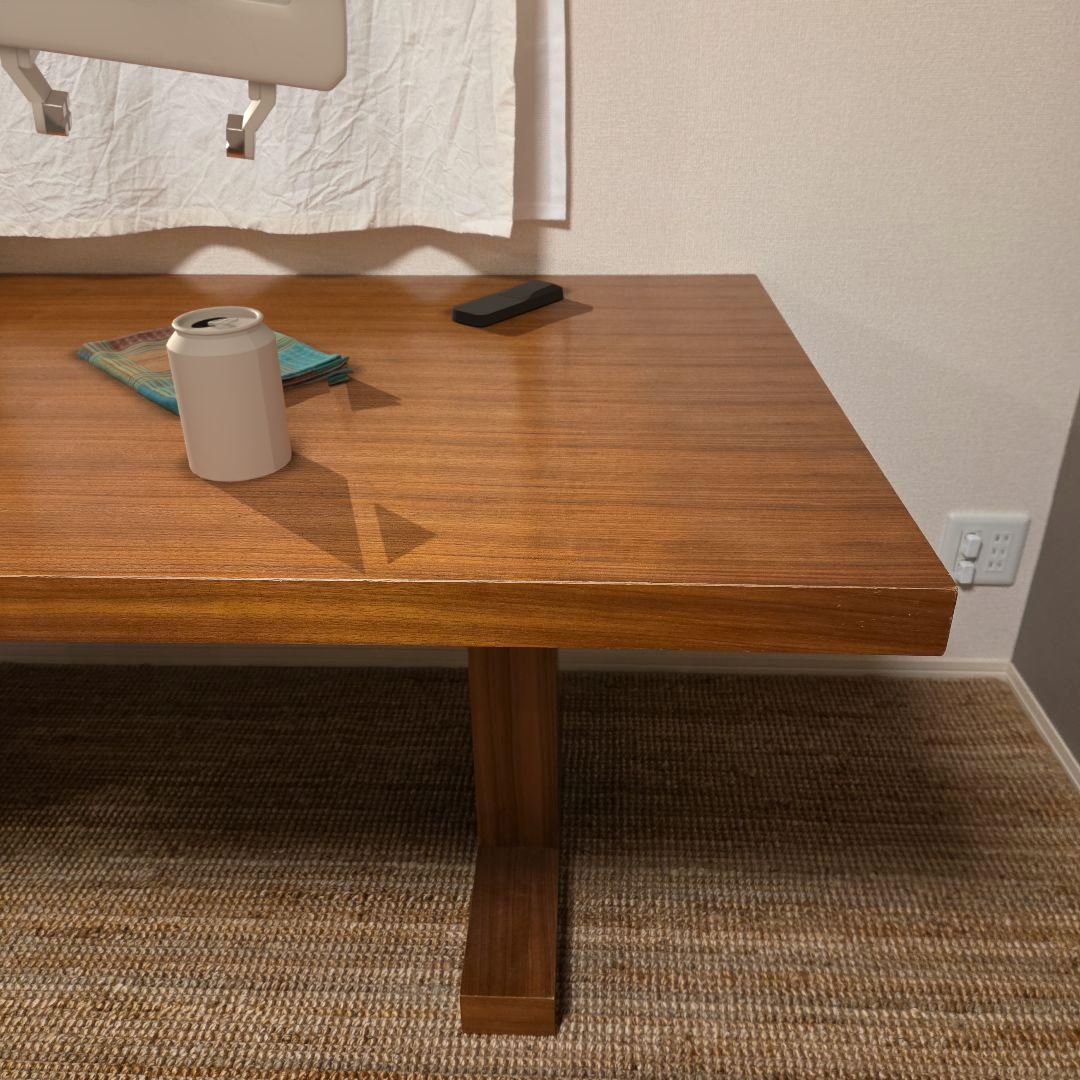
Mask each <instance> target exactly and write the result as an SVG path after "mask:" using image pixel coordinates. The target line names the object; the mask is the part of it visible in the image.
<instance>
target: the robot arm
mask: <svg viewBox="0 0 1080 1080" xmlns="http://www.w3.org/2000/svg"><path fill="white" fill-rule="evenodd" d="M347 10H348V9H347V0H0V64H1V67H2V69H4V71H5V72H6V74H7V75H8V76H9V78H10V79H11V80H12V82H13V83H14V85H15V86H16V87H17V88H18V89H19V91H20V92H21V93H22V94H23V96H24V97H25V99H26V100H27V101H28V102H30V103H31V107H32V114H33V120H34V125H35V127H34V128H35V131H36V133H37V134H41V135H48V136H49V135H50V136H59V137H69V136H70V131H71V130H72V127H73V117H72V116H73V115H72V112H71V111H70V110H69V109H70V106H71V100H70V93H69V91H62V90H57V89H53V88H52V87H51V85H50V84H49V82H48V81H47V79H46V78H45V76H44V74H43V73H42V72H41V70H40V69H39V67H38V65H37V64H36V62H35V61H36V59H37V58H38V57H39V54H40V52H46V53H53V54H61V55H68V56H75V57H82V58H88V59H95V60H102V61H108V62H109V61H110V62H116V63H123V64H130V65H138V66H145V67H151V68H156V69H157V68H159V69H166V70H172V71H179V72H186V73H192V74H200V75H205V76H206V75H208V76H214V77H221V78H227V79H235V80H243V81H247V82H248V83H247V84H248V88H247V89H248V92H247V93H248V96H247V97H248V99H249V100H250V101H251V103H250V104H249V106H248V107H247V108H246V110H245V112H244V113H243V115H242V114H235V113H228V114H227V121H226V125H225V140H226V148H225V150H226V158H234V159H241V160H248V161H255V159H256V150H257V147H256V146H257V132H258V131H259V129H260V128H261V126H263V125H262V124H263V123H264V122H265V120H266V119H267V118H268V116H269V115H270V113H271V112H272V110H273V109H274V108H275V106H276V104H277V94H278V86H282V87H283V86H284V87H290V88H299V89H305V90H312V91H318V92H331V91H333V90H334V89H335V88H336V87H337V86H338V85H339V84H340V83H341V82H342V81H343V80H344V79H345V78H346V76H347V73H348V48H349V47H348V46H349V45H348V43H349V41H348V40H349V39H348V36H349V35H348V11H347Z"/></svg>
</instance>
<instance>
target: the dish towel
mask: <svg viewBox="0 0 1080 1080" xmlns="http://www.w3.org/2000/svg"><path fill="white" fill-rule="evenodd" d="M271 330H272V331H273V332H274V333H275V336H276V343H277V350H278V357H279V365H280V372H281V379H282V386H283V391H284V390H289V389H291V388H295V387H298V386H303V385H307V384H311V383H315V382H319V381H323V380H327V384H328V386H332V385H334V384H338V383H342V382H347V381H349V380H350V379H351V377H350V376H349V375H348V374H353V373H355V371H354V369H353V368H350V367H349V363H348V362H349V360H350V356H349V355H345V356H342V354H339V353H334V354H329V353H326V352H324V351H320V350H319V349H317V348H315V347H313V346H312V345H309V344H307V343H305V342H303V341H301V340H299V339H297V338H293V337H291V336H288V335H286V334H283V333H281V332H278V331H276V330H273V329H271ZM174 332H175V329H174V328H173V326H172V324H170V325H167V326H163V327H159V328H153V329H148V330H142V331H141V330H140V331H137V332H136V331H135V332H134V333H133V332H132V333H128V334H125V335H122V336H117V337H113V338H107V339H105V340H98V341H89V342H85V343H83V344H82V345H81V347H80V348H79V350H78V351H77V357H78V359H80V360H84V361H86V362H87V363H89V364H91V365H92V366H94V367H96V368H97V369H99V370H101V371H103V372H104V373H107V374H108V375H109V376H110V377H112V378H113V379H116V380H117V381H119V382H121V383H122V384H124V385H125V386H127V387H128V388H130V389H131V390H132V391H134V392H136V393H138V394H139V395H140V396H142V397H144V398H145V399H147V400H149V401H151V402H153V403H154V404H156V405H158V406H160V407H162V408H163V409H166V410H169V411H171V412H173V413H174V414H176V415H177V416H178V417H180V414H179V409H178V404H177V399H176V393H175V388H174V383H173V378H172V373H171V368H170V363H169V357H168V352H167V347H166V344H167V342H168V340H169V339H170V337H171V336H172V335H173V333H174Z"/></svg>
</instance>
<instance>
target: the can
mask: <svg viewBox="0 0 1080 1080" xmlns="http://www.w3.org/2000/svg"><path fill="white" fill-rule="evenodd" d="M264 317H265V316H264V314H263V313H262V312H261V311H260V310H258V309H255V308H252V307H247V306H238V305H237V306H235V305H233V306H232V305H230V306H229V305H227V306H226V305H225V306H224V305H223V306H212V307H206V308H205V307H204V308H199V309H196V310H191V311H187V312H185V313H182V314H180V315H178V316H176V317H175V318H174V319H173V321H172V322H171V325H172V326H173V328H174V329H175V332H174V333H173V335H172V336H171V337H170V339H169V340H168V342H167V344H166V347H167V352H168V357H169V363H170V368H171V373H172V378H173V383H174V388H175V393H176V399H177V404H178V409H179V414H180V416H179V419H180V423H181V429H182V434H183V435H182V436H183V440H184V444H185V445H184V446H185V449H186V455H187V460H188V465H189V468H190V470H191V473H192V474H193V475H196V476H197V477H199V478H201V479H205V480H208V481H212V482H224V483H232V482H233V483H234V482H245V481H251V480H256V479H261V478H264V477H266V476H269V475H271V474H274V473H277V472H278V471H280V470H281V469H283V468H285V467H286V466H287V465H288V464H289V463H290V461H291V460H292V456H293V452H292V445H291V436H290V431H289V430H290V429H289V424H288V423H289V422H288V416H287V409H286V401H285V394H284V390H283V386H282V379H281V372H280V365H279V357H278V350H277V343H276V336H275V333H274V332H273V331H274V330H273V329H271V327H269V326H268V325H266V323H264V322H263V321H264ZM272 330H273V331H272Z"/></svg>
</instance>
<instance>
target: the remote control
mask: <svg viewBox="0 0 1080 1080" xmlns="http://www.w3.org/2000/svg"><path fill="white" fill-rule="evenodd" d="M563 299H565V298H564V289H563V286H562V285H559V284H555V283H553V282H549V281H544V280H539V279H533V280H529V281H526V282H524V283H521V284H518V285H516V286H512V287H510V288H506V289H503V290H500V291H497V292H494V293H491V294H488V295H485V296H482V297H479V298H476V299H473V300H470V301H467V302H463V303H461V304H458V305H455V306H452V309H451V310H452V312H451V321H454V322H458V323H461V324H464V325H469V326H474V327H487V326H490V325H493V324H495V323H498V322H502V321H504V320H507V319H509V318H512V317H515V316H519V315H521V314H523V313H526V312H529V311H532V310H534V309H537V308H541V307H543V306H546V305H548V304H551V303H554V302H557V301H559V300H563Z"/></svg>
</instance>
